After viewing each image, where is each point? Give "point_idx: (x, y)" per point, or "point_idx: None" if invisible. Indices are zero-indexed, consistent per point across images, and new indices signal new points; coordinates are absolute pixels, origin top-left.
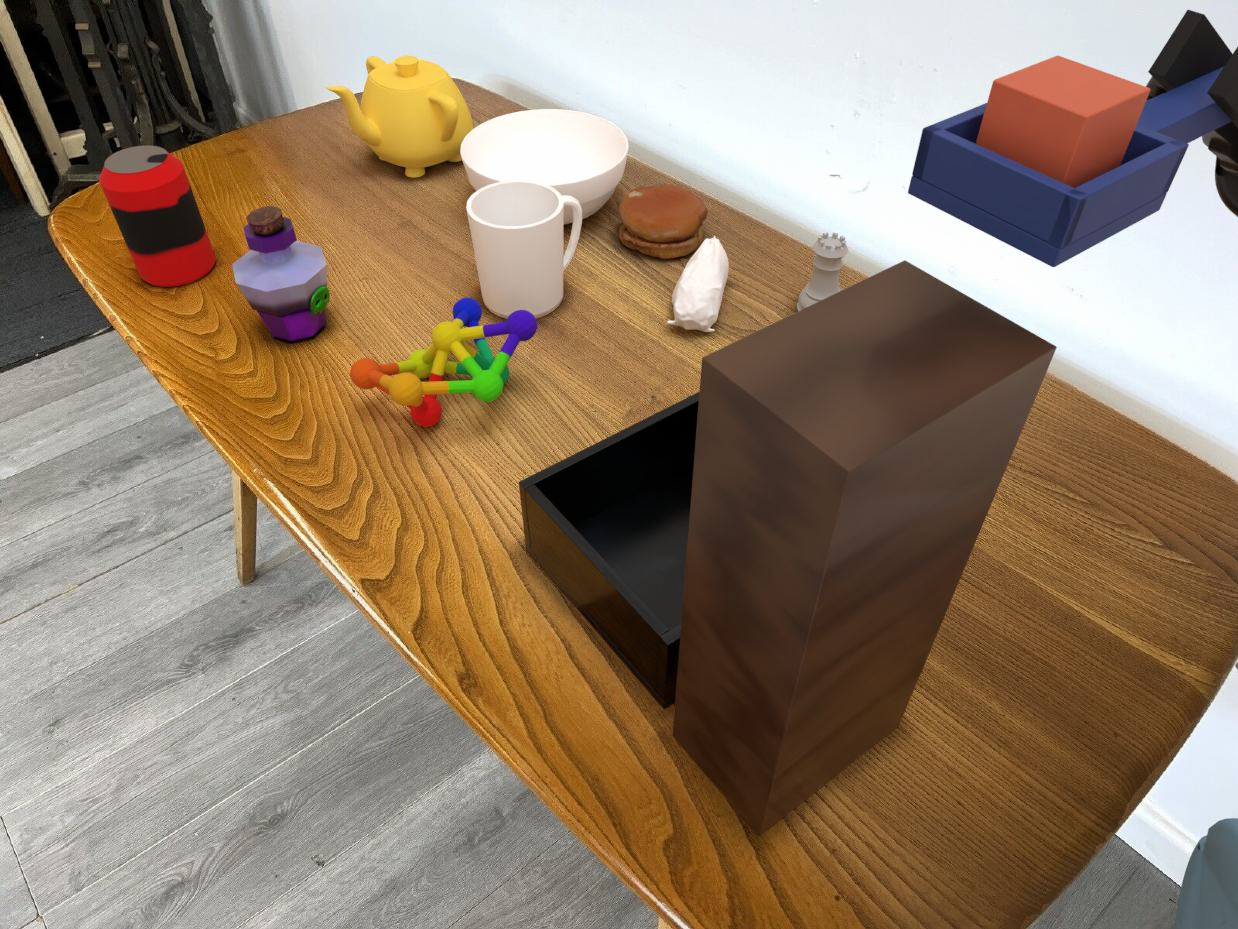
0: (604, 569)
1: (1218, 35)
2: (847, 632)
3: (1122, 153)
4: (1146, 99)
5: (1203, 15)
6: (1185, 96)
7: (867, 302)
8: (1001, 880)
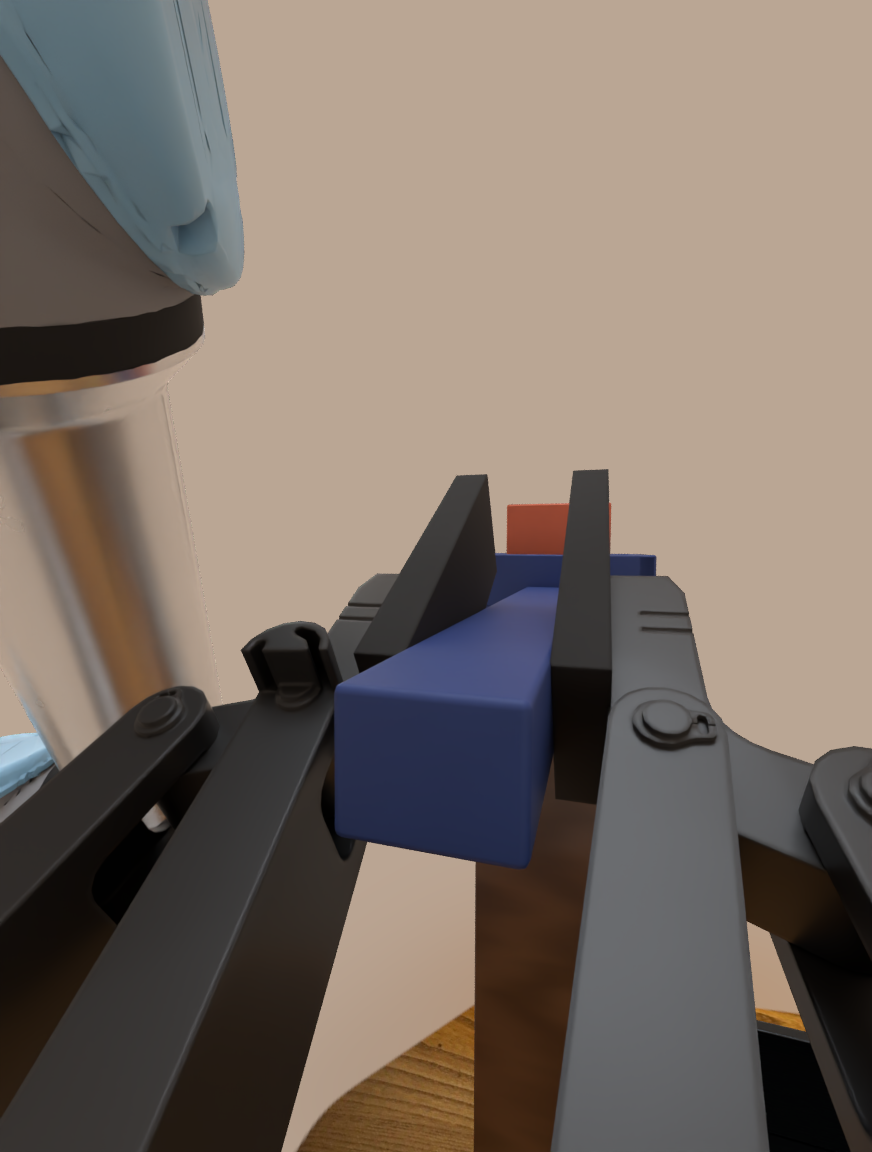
0: (772, 1026)
1: (567, 527)
2: None
3: None
4: (507, 514)
5: (574, 473)
6: (536, 606)
7: None
8: (329, 1140)
